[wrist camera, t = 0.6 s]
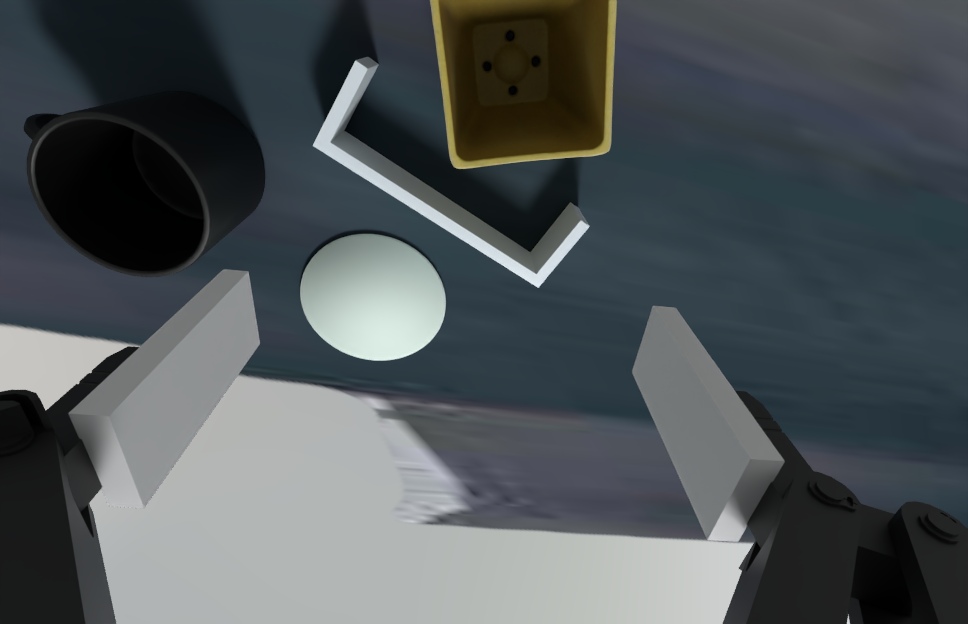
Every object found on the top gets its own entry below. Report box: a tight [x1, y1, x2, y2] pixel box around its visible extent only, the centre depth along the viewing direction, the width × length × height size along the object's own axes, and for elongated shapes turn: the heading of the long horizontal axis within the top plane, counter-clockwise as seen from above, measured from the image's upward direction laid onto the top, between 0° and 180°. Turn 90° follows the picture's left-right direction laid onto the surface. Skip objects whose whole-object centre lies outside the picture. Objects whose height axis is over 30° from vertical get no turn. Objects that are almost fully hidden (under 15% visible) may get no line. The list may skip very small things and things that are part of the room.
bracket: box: [313, 57, 590, 287], centre depth 34 cm, size 18×6×4 cm, turn 55°
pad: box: [300, 234, 446, 360], centre depth 40 cm, size 12×12×1 cm
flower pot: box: [430, 0, 617, 169], centre depth 28 cm, size 9×9×9 cm
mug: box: [24, 91, 265, 277], centre depth 30 cm, size 9×12×9 cm
